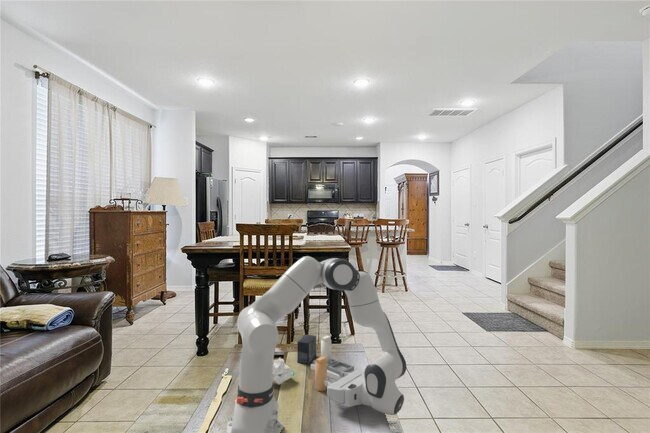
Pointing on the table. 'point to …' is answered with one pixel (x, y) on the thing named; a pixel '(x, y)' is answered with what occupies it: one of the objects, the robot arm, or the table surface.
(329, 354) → the grey base with column
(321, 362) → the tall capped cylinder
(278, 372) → the partial skull model
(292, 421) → the table surface
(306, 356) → the small box
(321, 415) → the table surface
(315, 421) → the table surface
